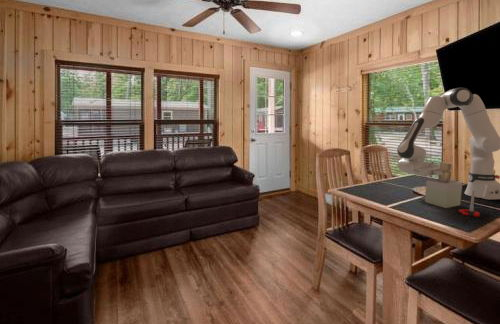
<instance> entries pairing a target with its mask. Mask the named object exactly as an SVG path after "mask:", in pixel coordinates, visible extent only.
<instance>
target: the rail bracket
mask: <svg viewBox="0 0 500 324" xmlns="http://www.w3.org/2000/svg"><path fill="white" fill-rule="evenodd" d="M439 165H440V169H439V171H442V172H444V175H438V178H437V179H438V182H443V183H450V180H451V177H452V169H453V163H452V162H451V163H450V162H444V161H443V162H440V163H439Z"/></svg>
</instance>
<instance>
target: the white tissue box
mask: <svg viewBox="0 0 500 324" xmlns="http://www.w3.org/2000/svg"><path fill="white" fill-rule="evenodd" d="M425 184H426V185H425V196H424V203H427V204H430V205H433V206H437V207H441V208H444V209H447V208H452V207H458V206H460V205H461V199H462V192H463V191H462V189H463V182H461V181H455V180H451V179H450V183H443V182H438V178H434V179H428V180H426V183H425Z"/></svg>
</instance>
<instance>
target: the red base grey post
mask: <svg viewBox="0 0 500 324" xmlns="http://www.w3.org/2000/svg"><path fill="white" fill-rule="evenodd" d="M474 196H475V195H474V191H472V195H471V196H470V204H469V208H468V209H466V208H465V209H463V208H462V209H458V212H459V213H461V214H462V215H463V216H468V217H469V216H470V217H476V218H479V217H480V215H481V213H480V212H479V211H476V210H475V209H474V208H475V207H474V203H475V197H474Z"/></svg>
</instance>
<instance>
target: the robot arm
mask: <svg viewBox="0 0 500 324" xmlns="http://www.w3.org/2000/svg"><path fill="white" fill-rule="evenodd" d="M457 107H458V108H459V109H460V110H461V112H462V116H463V118H464V121H465V124H466V126H467V127H466V128H468V130H469V132H470V133H471V136H470V138H469V141H468V142H469V143H468V144H469V145H470V146H469V147H470V149H469V150H470V170H469V172H468V177H467V181H468V182H467V185H466V189H465V191H464V192H463V194H465V195H466V196H469V197H471V195H472V191H474V195H475V196H474V198H481V199H484V200H500V182H499V181H497V180H499V179H500V175H498V174H494V170H495V169H494V167H495V159H494V153H493V152H497V151H499V150H500V135H499V133H498V131H497V129H495V127H494V125H493V123H492V122H491V119H490V117H489V113H488V111H487V108H486V106H485V104H484V102H483V100H482V99H481V97H480V96H479V95H478V94H476V93H474V94H473V93H472V92H471V90H470V89H468V88H466V87H456V88H452V89H449V90H447V91H445V92H443V93H442V92H441V94H440V95H435V96H434V95H433V96H431V97H429V98H428V99H427V101H426V102H425V105H424V107H423V108H422V111H421V112H420V115H419V116H418V118H416V119H415V120H414V121H413V122H412V124H411V125H410V127H409V129H408V131H407V133H406V134H405V137H403V140H402V141H401V142H400V144H398V146H397V148H396V149H397V151H396V152H397V155H398V156H399V157H400V159H399V160H398V162H397V168H398V170H399V171H401V172H403V173H406V174H409V175H412V174H414V175H416V176H419V177H429V176H435V175H436V176H437V175H438V176H439V175H444V172H442V171H439V169H440V164H437V163H436V162H428V161H424V160H425V159H426V157H427V152H426V149H425V148H423V147H421V146H419V145H416V144H415V141H416V139H417V138H418V137H419V135H420V133H421V131H423V130H424V129H426V130H427V129H431V128H434V127H436V126H438V125H439V123H440V122H441V119H442V117H443V115H444V111H445V110H448V109H454V108H457ZM496 179H497V180H496Z"/></svg>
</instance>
